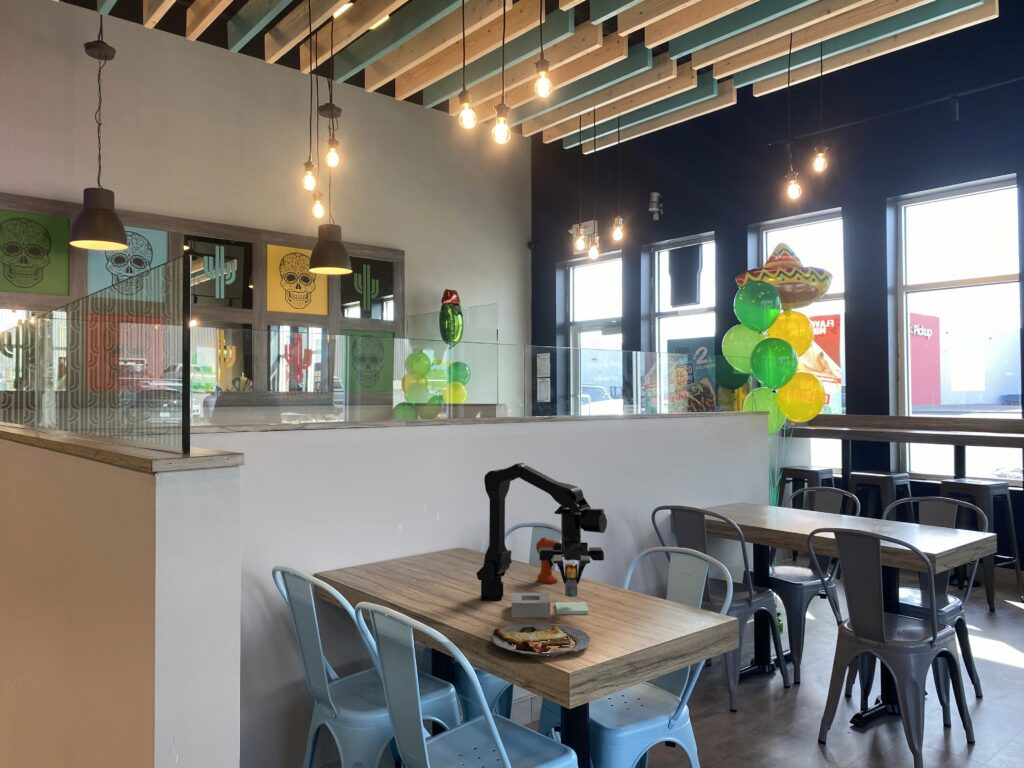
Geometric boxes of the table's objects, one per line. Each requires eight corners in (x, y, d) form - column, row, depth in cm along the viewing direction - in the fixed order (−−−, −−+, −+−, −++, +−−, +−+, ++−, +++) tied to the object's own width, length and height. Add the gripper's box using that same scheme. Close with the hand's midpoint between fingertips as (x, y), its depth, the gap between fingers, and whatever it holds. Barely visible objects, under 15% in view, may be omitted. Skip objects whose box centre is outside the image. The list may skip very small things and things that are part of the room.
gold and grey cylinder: (565, 596, 225) (565, 565, 225) (564, 593, 228) (564, 563, 228) (577, 596, 225) (577, 565, 225) (576, 593, 228) (576, 563, 228)
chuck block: (511, 617, 219) (511, 603, 219) (512, 606, 230) (511, 593, 230) (550, 617, 219) (550, 603, 219) (548, 606, 230) (548, 592, 230)
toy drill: (570, 587, 247) (566, 539, 249) (534, 582, 262) (531, 538, 264) (581, 584, 250) (577, 537, 252) (545, 580, 265) (542, 536, 267)
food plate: (504, 664, 181) (505, 649, 181) (480, 635, 203) (480, 622, 203) (603, 657, 188) (604, 642, 188) (569, 629, 210) (570, 616, 210)
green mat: (556, 614, 222) (556, 610, 222) (555, 605, 231) (555, 602, 231) (588, 614, 222) (588, 610, 222) (585, 605, 231) (585, 602, 231)
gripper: (539, 535, 219) (540, 590, 219) (605, 535, 219) (606, 590, 218) (538, 528, 230) (539, 580, 230) (601, 528, 230) (601, 580, 230)
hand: (571, 583), depth 227 cm, fingers closed on gold and grey cylinder, 4 cm apart
